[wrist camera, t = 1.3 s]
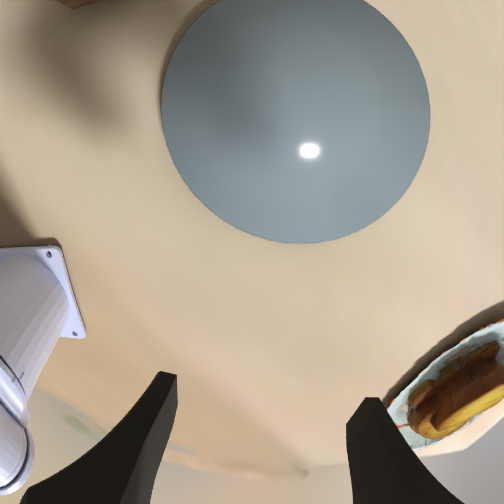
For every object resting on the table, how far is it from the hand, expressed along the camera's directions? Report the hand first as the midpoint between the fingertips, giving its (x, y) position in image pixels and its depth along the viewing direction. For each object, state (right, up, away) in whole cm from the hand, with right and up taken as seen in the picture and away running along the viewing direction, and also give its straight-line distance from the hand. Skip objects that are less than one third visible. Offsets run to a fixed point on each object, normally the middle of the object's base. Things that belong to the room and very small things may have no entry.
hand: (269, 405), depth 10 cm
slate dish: (+2, +14, +5) cm, 15 cm away
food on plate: (+27, -12, +21) cm, 36 cm away
